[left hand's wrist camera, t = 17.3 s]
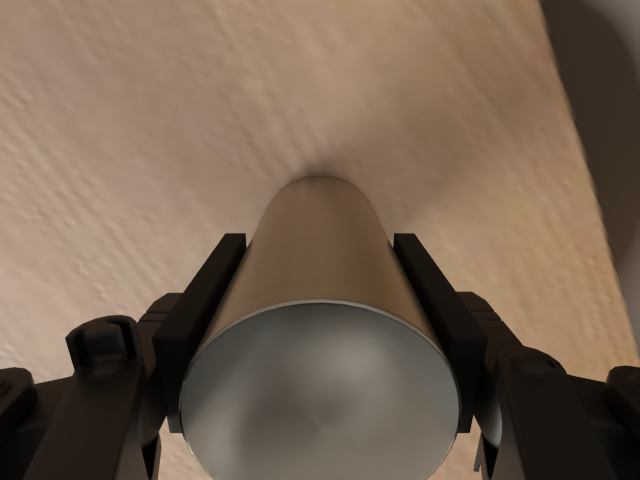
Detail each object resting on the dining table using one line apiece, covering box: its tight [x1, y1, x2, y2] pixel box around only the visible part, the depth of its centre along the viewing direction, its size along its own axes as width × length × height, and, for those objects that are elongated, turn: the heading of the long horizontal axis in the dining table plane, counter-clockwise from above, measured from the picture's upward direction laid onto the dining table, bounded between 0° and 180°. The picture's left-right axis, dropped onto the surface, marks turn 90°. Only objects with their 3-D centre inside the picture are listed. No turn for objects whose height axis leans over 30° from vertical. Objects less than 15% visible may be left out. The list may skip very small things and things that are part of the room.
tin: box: [178, 176, 462, 480], centre depth 12 cm, size 6×6×11 cm
